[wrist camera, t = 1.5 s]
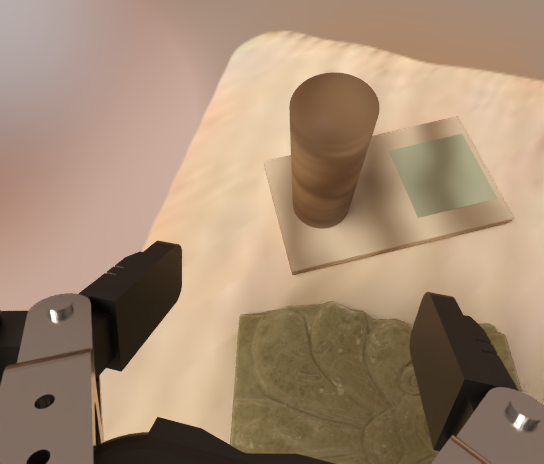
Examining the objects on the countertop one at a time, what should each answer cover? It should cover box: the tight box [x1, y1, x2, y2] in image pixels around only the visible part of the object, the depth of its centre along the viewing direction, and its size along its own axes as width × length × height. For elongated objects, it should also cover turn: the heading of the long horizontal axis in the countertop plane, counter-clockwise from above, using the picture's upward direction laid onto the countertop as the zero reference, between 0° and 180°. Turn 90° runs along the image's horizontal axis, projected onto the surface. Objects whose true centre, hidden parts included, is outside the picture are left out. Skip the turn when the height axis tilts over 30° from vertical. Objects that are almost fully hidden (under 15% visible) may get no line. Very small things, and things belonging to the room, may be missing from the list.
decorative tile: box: [230, 301, 522, 464], centre depth 24 cm, size 19×20×4 cm
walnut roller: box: [290, 73, 379, 229], centre depth 25 cm, size 5×5×12 cm
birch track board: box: [264, 116, 514, 275], centre depth 31 cm, size 19×11×1 cm, turn 103°
